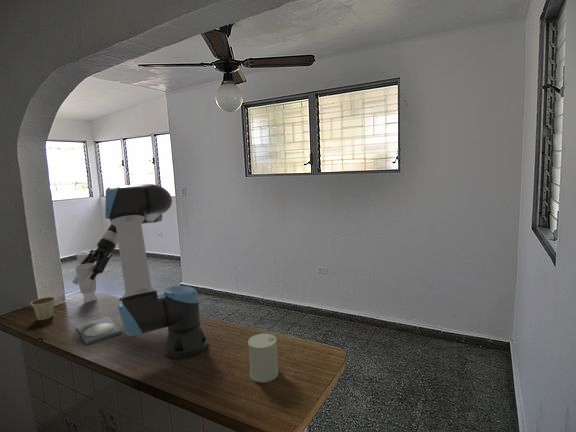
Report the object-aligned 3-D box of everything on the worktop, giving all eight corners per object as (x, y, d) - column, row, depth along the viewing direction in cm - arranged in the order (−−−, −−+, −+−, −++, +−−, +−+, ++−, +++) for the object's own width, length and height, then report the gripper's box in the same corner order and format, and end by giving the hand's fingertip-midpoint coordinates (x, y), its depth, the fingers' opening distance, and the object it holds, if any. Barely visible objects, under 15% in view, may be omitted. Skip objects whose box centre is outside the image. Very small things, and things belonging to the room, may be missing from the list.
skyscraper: (96, 295, 189) (90, 246, 185) (101, 299, 184) (94, 248, 180) (80, 300, 183) (73, 249, 179) (84, 303, 178) (77, 251, 174)
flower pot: (62, 314, 166) (60, 297, 165) (45, 322, 157) (42, 304, 156) (45, 313, 168) (43, 296, 167) (28, 322, 159) (25, 304, 157)
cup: (83, 295, 152) (79, 269, 150) (75, 292, 157) (71, 266, 155) (101, 289, 158) (98, 264, 157) (93, 286, 163) (90, 262, 161)
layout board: (121, 333, 143) (121, 330, 143) (86, 344, 135) (85, 341, 135) (108, 318, 158) (108, 315, 158) (76, 328, 150) (75, 325, 150)
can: (281, 378, 108) (280, 343, 106) (252, 385, 105) (250, 348, 104) (274, 363, 117) (272, 329, 115) (247, 368, 114) (245, 334, 112)
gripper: (128, 247, 163) (100, 291, 152) (101, 244, 173) (73, 285, 162) (116, 238, 158) (87, 283, 146) (90, 236, 168) (60, 278, 156)
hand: (79, 284), depth 154 cm, fingers closed on cup, 8 cm apart
